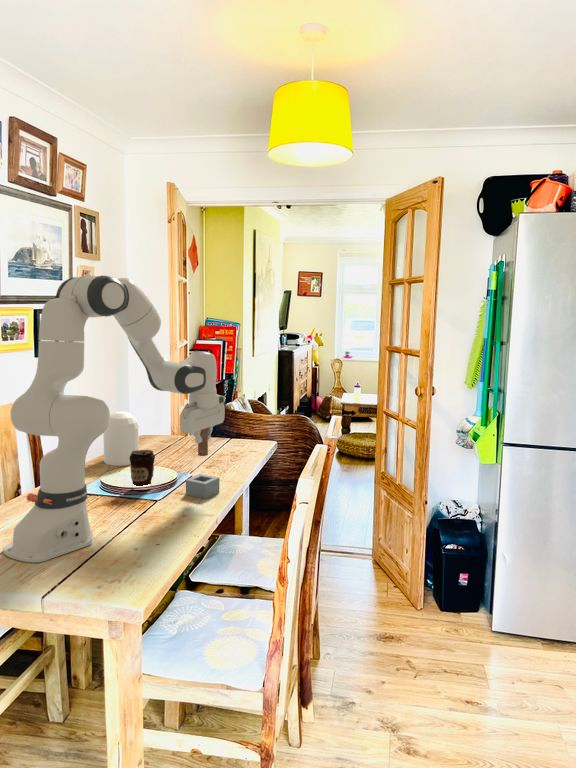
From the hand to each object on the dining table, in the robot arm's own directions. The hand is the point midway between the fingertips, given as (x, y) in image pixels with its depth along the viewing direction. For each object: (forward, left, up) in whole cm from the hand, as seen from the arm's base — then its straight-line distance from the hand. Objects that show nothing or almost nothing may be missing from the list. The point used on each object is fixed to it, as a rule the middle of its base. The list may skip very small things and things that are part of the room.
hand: (203, 441), depth 193 cm
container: (+15, +50, -18) cm, 55 cm away
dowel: (0, 0, -5) cm, 5 cm away
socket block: (0, 0, -18) cm, 18 cm away
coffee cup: (-7, +20, -18) cm, 28 cm away
